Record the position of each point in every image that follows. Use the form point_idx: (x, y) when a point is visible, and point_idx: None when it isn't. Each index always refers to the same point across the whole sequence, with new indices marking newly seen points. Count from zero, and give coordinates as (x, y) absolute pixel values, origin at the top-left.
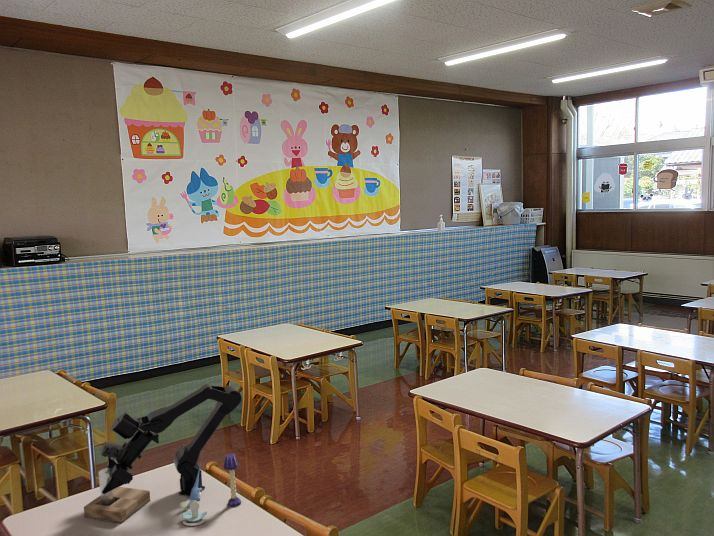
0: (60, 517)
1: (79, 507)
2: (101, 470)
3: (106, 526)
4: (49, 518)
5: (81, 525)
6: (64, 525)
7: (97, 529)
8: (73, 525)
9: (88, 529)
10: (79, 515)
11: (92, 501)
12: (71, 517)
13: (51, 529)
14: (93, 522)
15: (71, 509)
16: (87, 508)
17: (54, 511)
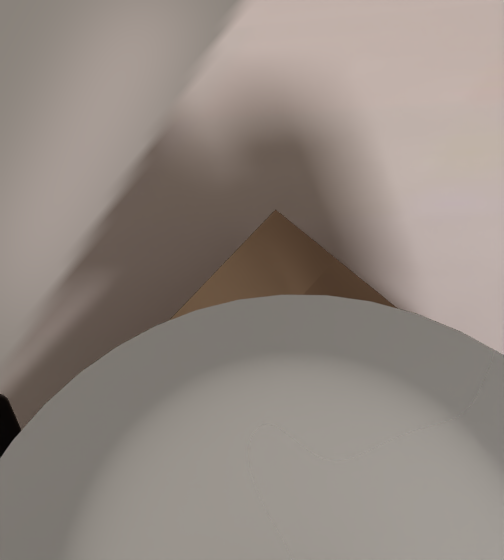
0: (374, 83)
1: (495, 206)
2: (476, 454)
3: (22, 418)
4: (394, 18)
5: (157, 229)
6: (227, 117)
7: (19, 345)
8: (191, 175)
9: (62, 279)
10: (339, 210)
11: (366, 293)
12: (334, 155)
13: (215, 45)
14: (154, 316)
15: (483, 148)
16: (243, 247)
17: (500, 37)
